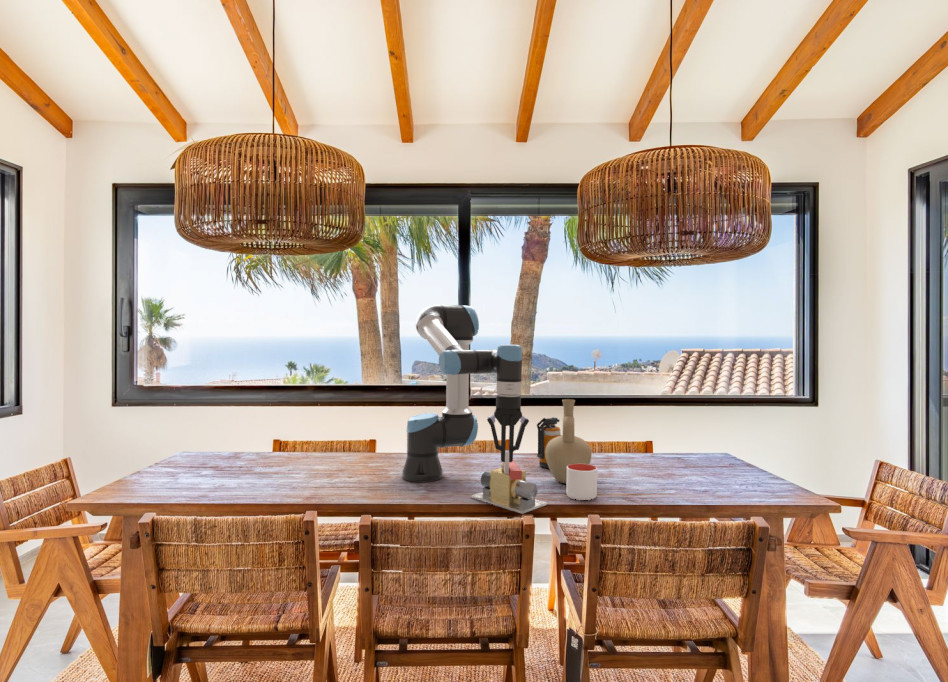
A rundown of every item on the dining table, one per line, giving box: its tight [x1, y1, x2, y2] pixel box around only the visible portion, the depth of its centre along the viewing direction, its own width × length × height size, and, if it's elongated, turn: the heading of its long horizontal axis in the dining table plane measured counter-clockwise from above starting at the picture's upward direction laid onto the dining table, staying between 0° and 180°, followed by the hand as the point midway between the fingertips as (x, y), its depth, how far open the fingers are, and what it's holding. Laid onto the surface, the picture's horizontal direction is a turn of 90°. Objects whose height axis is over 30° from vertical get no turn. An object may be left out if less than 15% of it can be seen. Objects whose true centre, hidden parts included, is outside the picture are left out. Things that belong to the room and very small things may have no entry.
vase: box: [545, 398, 592, 484], centre depth 201 cm, size 17×17×30 cm
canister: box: [536, 416, 563, 469], centre depth 222 cm, size 9×11×20 cm
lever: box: [500, 460, 523, 480], centre depth 172 cm, size 17×4×4 cm, turn 6°
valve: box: [470, 467, 548, 515], centre depth 178 cm, size 22×12×10 cm, turn 45°
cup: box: [565, 464, 598, 501], centre depth 183 cm, size 10×10×10 cm
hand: (506, 472), depth 168 cm, fingers closed
